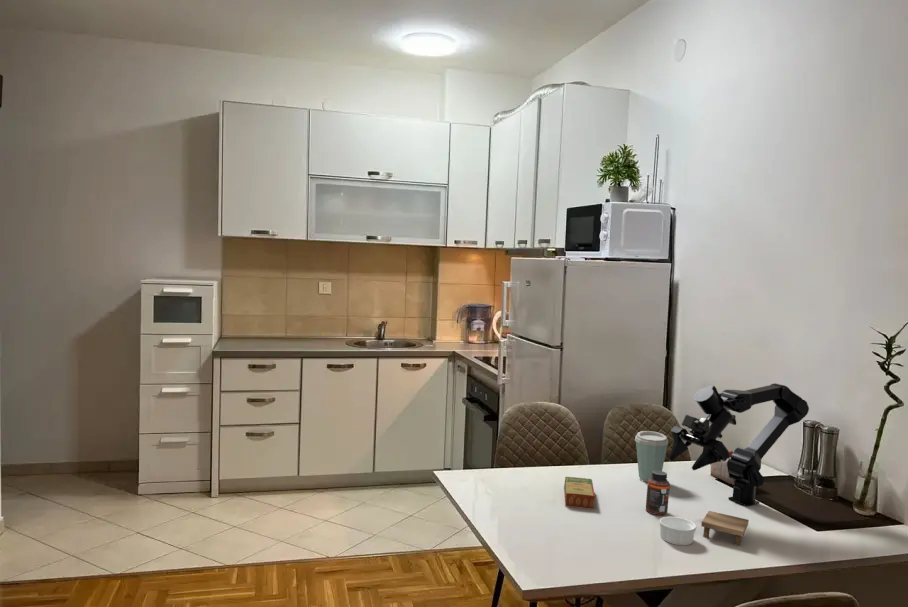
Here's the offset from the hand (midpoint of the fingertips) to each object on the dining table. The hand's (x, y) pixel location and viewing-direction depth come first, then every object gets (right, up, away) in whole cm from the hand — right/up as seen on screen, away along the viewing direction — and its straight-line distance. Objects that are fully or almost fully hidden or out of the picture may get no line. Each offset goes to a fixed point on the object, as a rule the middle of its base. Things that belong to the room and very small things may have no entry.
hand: (681, 464), depth 195 cm
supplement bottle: (-8, -13, -2) cm, 15 cm away
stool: (+6, -15, -17) cm, 23 cm away
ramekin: (-8, -14, -21) cm, 27 cm away
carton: (-28, -12, +5) cm, 31 cm away
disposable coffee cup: (-2, -12, +27) cm, 29 cm away
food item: (+27, -13, +32) cm, 44 cm away
